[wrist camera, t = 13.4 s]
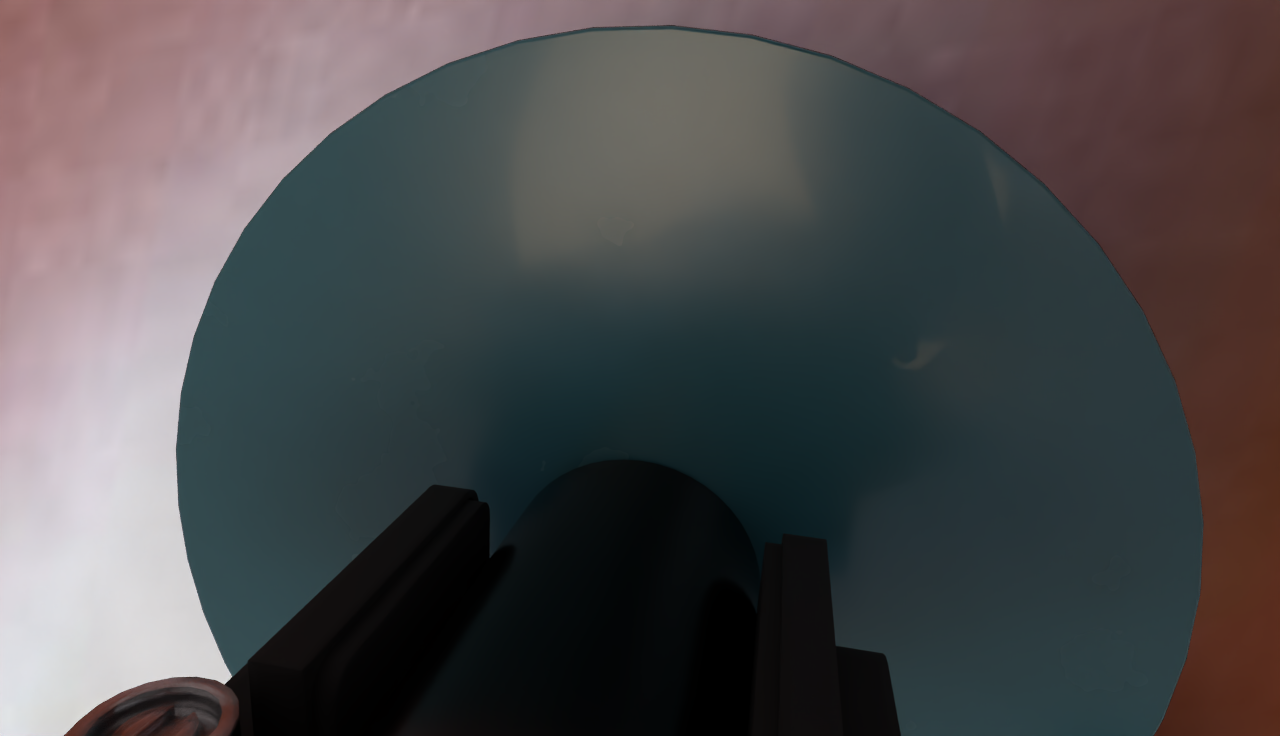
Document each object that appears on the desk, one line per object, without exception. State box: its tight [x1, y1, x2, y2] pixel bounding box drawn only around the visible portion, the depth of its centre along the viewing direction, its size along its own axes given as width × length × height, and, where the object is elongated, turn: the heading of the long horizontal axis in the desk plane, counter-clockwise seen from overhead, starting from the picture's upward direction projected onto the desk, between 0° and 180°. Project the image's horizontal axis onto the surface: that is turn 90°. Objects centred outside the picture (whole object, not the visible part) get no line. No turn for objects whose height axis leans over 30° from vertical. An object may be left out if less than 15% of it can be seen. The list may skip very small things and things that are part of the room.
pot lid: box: [176, 25, 1203, 736], centre depth 9 cm, size 15×15×8 cm
